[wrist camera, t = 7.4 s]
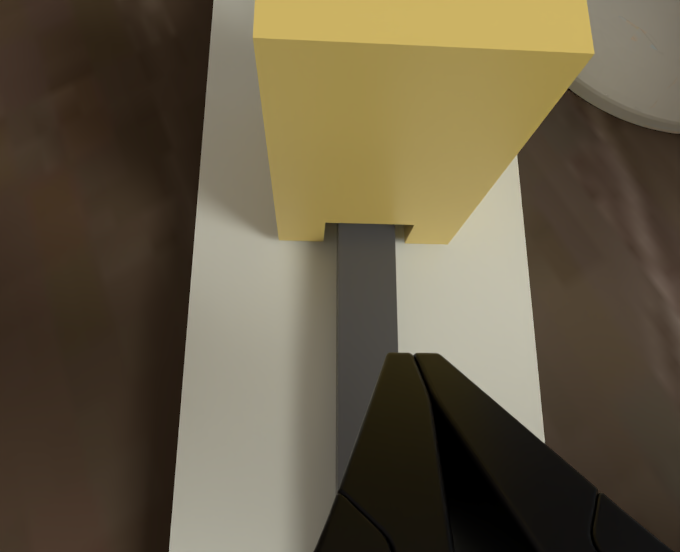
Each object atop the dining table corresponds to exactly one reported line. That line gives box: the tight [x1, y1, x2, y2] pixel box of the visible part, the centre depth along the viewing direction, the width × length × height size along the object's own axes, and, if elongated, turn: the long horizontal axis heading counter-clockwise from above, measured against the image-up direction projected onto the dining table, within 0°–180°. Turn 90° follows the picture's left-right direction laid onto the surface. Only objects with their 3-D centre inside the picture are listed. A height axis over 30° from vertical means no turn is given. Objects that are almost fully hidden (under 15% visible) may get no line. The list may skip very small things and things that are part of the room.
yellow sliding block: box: [253, 0, 595, 244], centre depth 13 cm, size 5×5×8 cm
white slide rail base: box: [169, 0, 545, 552], centre depth 13 cm, size 30×10×6 cm, turn 0°
